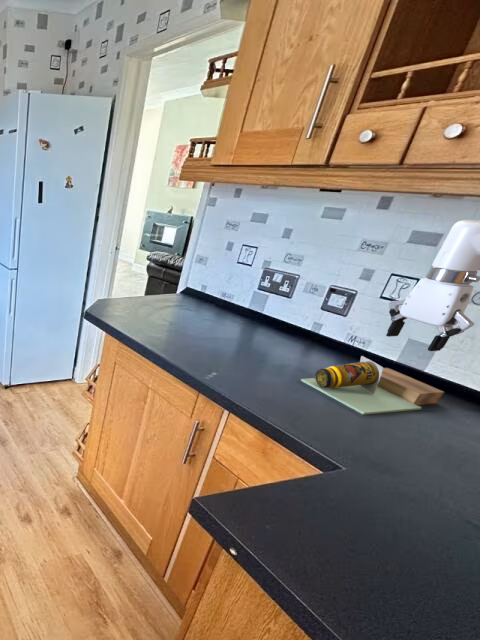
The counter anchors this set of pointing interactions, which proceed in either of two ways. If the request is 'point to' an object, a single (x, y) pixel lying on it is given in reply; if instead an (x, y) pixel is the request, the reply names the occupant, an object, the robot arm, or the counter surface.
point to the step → (408, 388)
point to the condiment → (351, 375)
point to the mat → (365, 398)
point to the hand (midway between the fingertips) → (411, 342)
